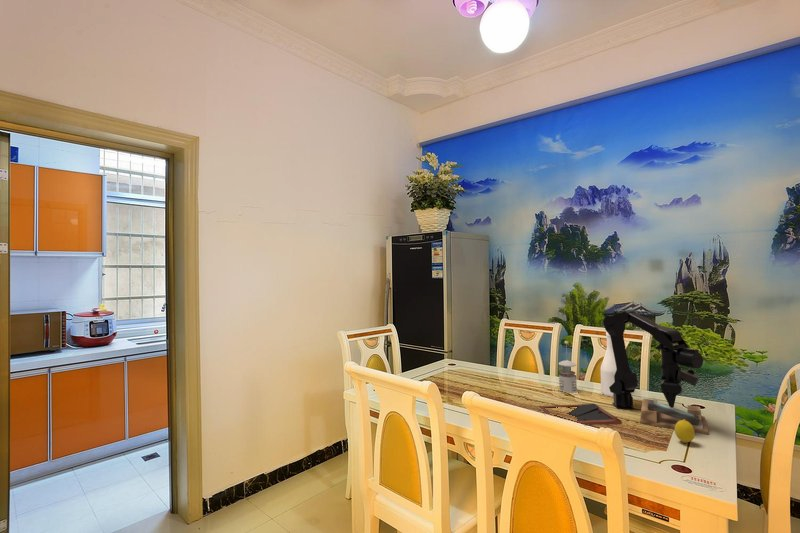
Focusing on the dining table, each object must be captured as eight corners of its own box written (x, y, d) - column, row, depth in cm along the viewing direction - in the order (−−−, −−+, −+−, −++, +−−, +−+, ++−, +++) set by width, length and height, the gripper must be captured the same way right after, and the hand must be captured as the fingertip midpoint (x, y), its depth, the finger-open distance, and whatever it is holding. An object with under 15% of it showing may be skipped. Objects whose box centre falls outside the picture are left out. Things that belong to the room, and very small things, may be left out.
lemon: (695, 448, 132) (694, 423, 132) (675, 444, 135) (674, 420, 135) (694, 441, 137) (693, 418, 137) (674, 438, 140) (673, 415, 140)
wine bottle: (616, 391, 194) (614, 329, 194) (628, 397, 184) (625, 332, 185) (597, 391, 193) (595, 330, 194) (608, 398, 184) (605, 333, 184)
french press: (557, 394, 192) (555, 342, 192) (557, 387, 203) (555, 338, 203) (579, 396, 188) (577, 343, 188) (578, 388, 199) (576, 338, 199)
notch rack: (639, 423, 154) (639, 410, 154) (642, 409, 168) (641, 398, 168) (708, 434, 142) (707, 420, 142) (705, 419, 156) (704, 406, 156)
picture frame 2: (647, 408, 154) (648, 402, 154) (647, 404, 158) (649, 399, 158) (698, 425, 145) (699, 419, 145) (697, 421, 149) (698, 415, 149)
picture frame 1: (594, 407, 174) (538, 410, 173) (594, 403, 174) (538, 405, 173) (621, 425, 154) (558, 428, 153) (621, 420, 154) (558, 422, 153)
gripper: (698, 370, 139) (699, 415, 139) (695, 360, 155) (696, 400, 155) (660, 367, 146) (661, 409, 146) (661, 357, 161) (662, 395, 161)
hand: (671, 403), depth 152 cm, fingers open, 9 cm apart
